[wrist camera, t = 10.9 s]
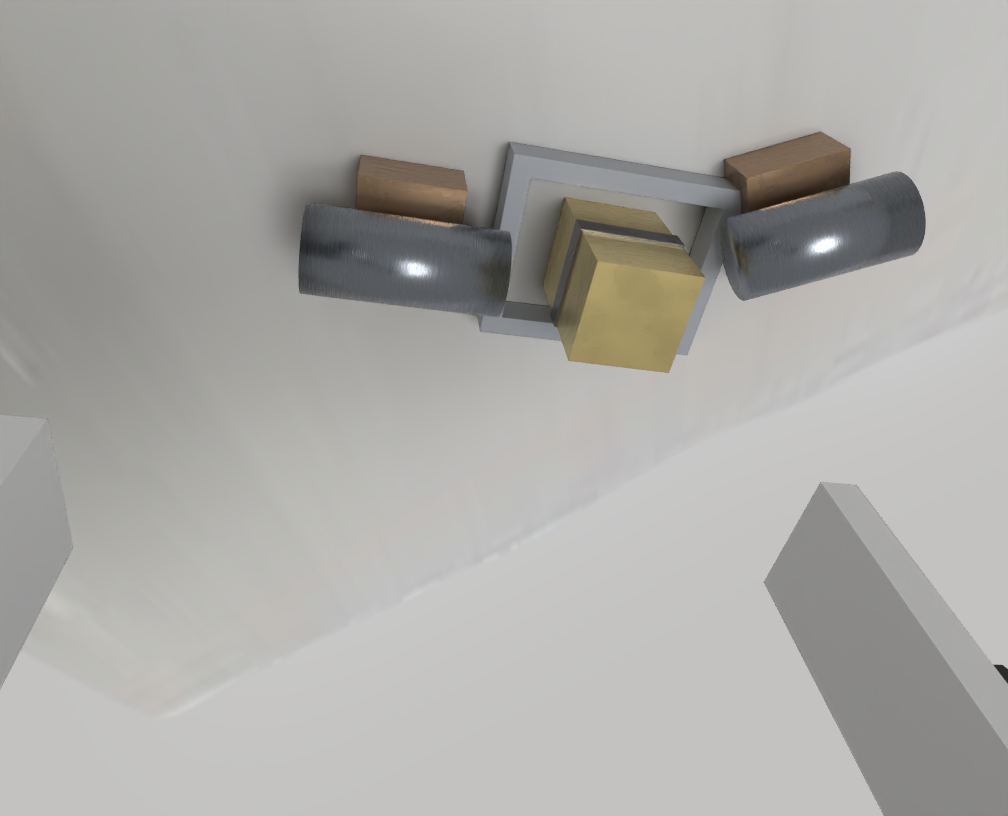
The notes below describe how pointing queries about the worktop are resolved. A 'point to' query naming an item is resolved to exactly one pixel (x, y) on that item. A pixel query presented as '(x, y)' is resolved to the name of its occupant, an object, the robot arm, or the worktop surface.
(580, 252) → the gold rectangular block
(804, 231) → the shaft
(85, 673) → the worktop surface
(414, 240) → the shaft
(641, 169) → the cradle
